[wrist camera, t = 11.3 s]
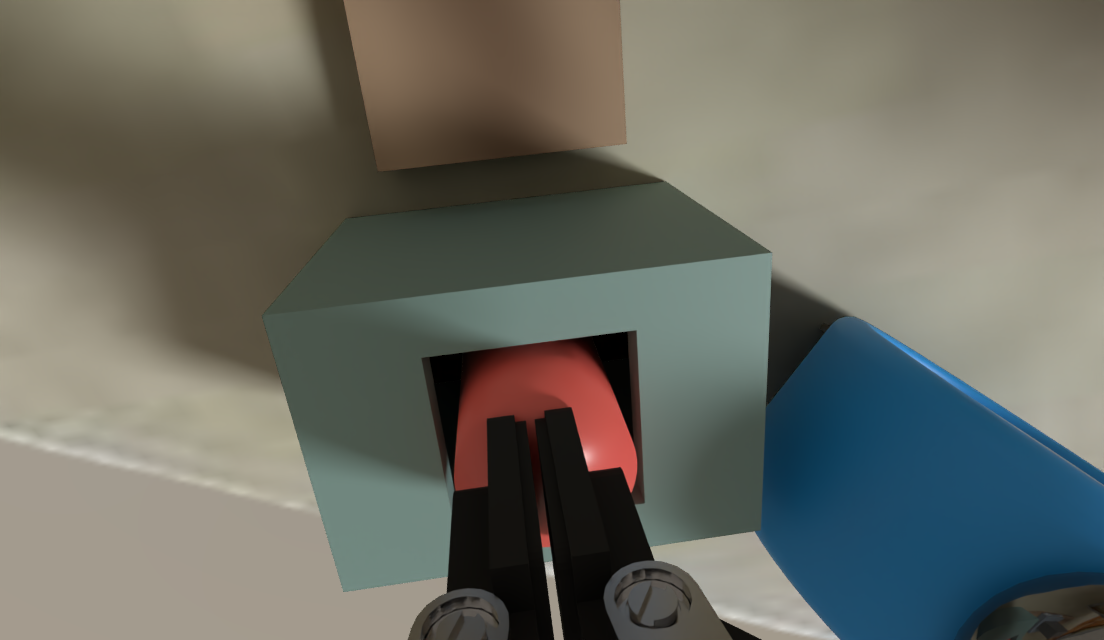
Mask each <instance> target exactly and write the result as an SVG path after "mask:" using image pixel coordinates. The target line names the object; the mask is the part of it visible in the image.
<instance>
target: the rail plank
mask: <svg viewBox="0 0 1104 640" xmlns="http://www.w3.org/2000/svg"><path fill="white" fill-rule="evenodd" d="M343 1H344V6H345V11H346V16H347V21H348V26H349V31H350V36H351V41H352V46H353V51H354V56H355V61H356V66H357V71H358V76H359V81H360V86H361V91H362V96H363V101H364V106H365V111H366V116H367V121H368V126H369V131H370V136H371V141H372V146H373V151H374V156H375V161H376V166H377V171H378V172H380V171H389V170H398V169H407V168H416V167H425V166H434V165H443V164H452V163H460V162H469V161H478V160H487V159H496V158H505V157H514V156H523V155H532V154H540V153H549V152H558V151H567V150H576V149H585V148H594V147H603V146H612V145H620V144H627V142H626V121H625V100H624V80H623V59H622V39H621V18H620V0H343Z"/></svg>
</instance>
